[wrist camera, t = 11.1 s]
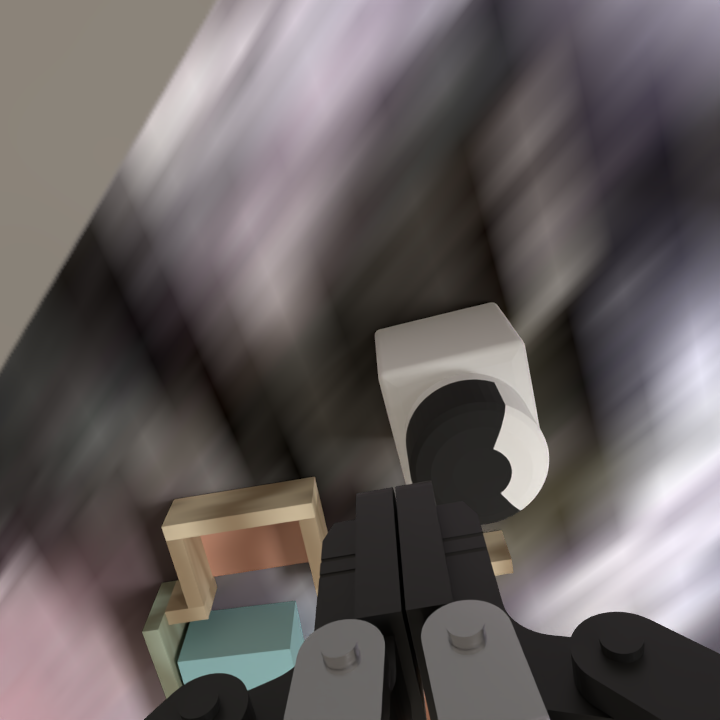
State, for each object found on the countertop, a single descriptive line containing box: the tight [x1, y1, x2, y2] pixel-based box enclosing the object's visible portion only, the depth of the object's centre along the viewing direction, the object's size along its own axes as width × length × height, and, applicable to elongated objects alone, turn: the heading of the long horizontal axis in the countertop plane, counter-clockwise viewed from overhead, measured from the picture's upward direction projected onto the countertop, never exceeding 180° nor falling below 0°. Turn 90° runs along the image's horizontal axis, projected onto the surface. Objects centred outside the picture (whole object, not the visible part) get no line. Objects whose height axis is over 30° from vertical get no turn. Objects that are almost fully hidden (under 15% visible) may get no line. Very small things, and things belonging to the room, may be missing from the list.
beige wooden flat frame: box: [142, 477, 513, 720], centre depth 45 cm, size 22×23×4 cm
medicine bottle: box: [375, 303, 549, 525], centre depth 35 cm, size 7×7×12 cm
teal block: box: [178, 601, 304, 691], centre depth 45 cm, size 7×5×4 cm
